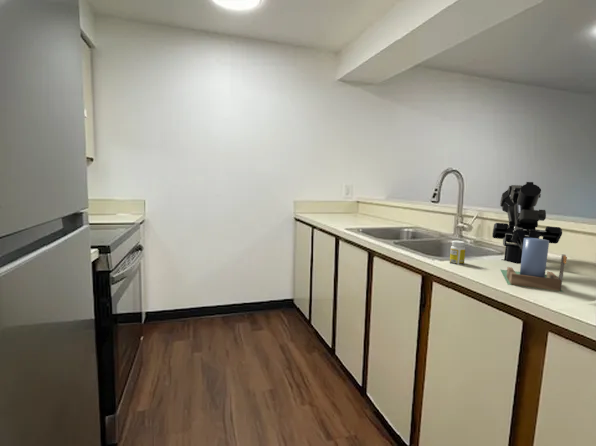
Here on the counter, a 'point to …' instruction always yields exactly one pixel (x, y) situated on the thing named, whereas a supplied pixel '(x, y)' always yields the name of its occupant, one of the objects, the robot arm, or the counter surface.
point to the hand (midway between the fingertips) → (526, 253)
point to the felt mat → (518, 273)
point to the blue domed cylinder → (534, 257)
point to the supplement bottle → (457, 253)
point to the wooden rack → (538, 278)
